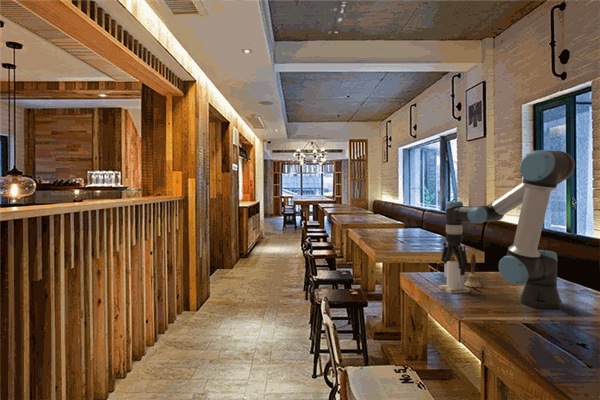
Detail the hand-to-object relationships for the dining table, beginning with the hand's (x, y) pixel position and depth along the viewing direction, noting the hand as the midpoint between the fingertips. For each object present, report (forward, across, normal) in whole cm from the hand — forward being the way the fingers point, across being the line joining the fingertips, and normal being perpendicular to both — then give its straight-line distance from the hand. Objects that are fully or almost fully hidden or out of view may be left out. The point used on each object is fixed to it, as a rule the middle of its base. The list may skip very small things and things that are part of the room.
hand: (454, 279), depth 197 cm
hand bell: (+6, +5, -14) cm, 16 cm away
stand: (+5, 0, 0) cm, 5 cm away
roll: (+4, 0, 0) cm, 4 cm away
